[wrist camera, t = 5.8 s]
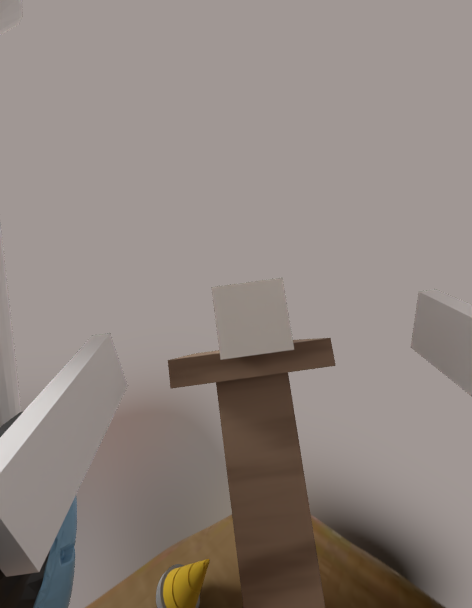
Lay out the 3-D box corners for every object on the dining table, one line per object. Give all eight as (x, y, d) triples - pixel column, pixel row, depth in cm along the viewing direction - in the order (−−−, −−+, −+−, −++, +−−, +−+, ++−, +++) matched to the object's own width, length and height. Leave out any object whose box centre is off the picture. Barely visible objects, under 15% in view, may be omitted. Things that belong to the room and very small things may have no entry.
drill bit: (185, 589, 36) (227, 541, 34) (180, 649, 31) (229, 597, 29) (149, 576, 35) (191, 526, 33) (138, 637, 30) (186, 582, 28)
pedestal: (425, 854, 16) (330, 338, 20) (219, 888, 16) (167, 360, 20) (345, 635, 28) (295, 339, 32) (227, 652, 28) (194, 353, 32)
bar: (294, 349, 11) (282, 277, 11) (220, 359, 11) (211, 287, 11) (255, 344, 35) (252, 321, 35) (232, 348, 35) (229, 324, 35)
